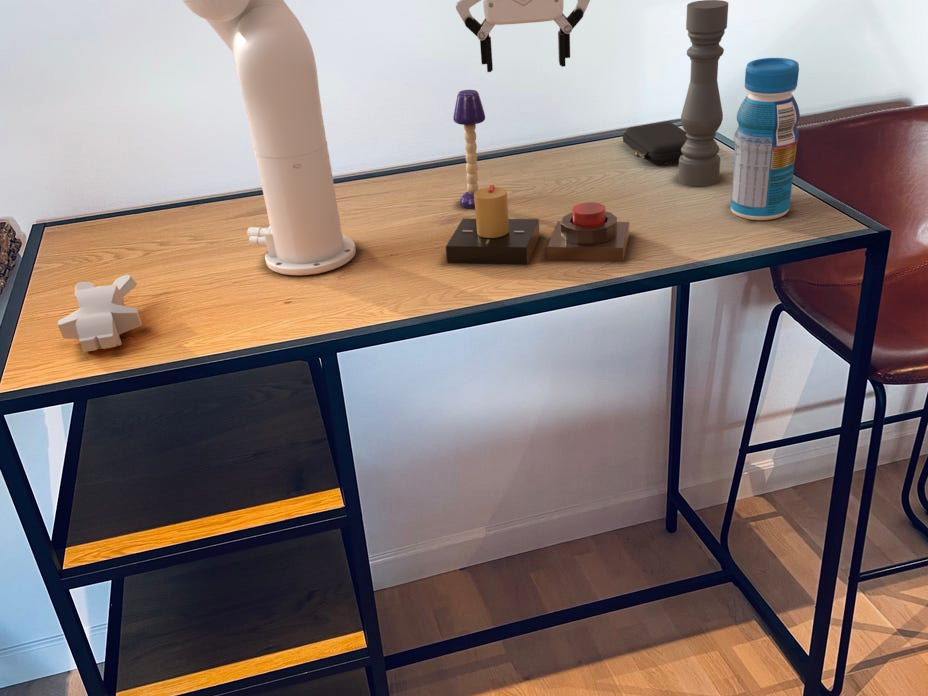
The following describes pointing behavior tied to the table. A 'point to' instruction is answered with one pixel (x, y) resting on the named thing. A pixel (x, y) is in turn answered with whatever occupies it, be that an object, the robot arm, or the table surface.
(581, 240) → the switch box
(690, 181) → the candle holder
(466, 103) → the toy lamp
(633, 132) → the carrying case
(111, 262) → the table surface
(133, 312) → the white blocky figure
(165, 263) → the table surface
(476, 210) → the dimmer knob
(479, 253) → the dimmer
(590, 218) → the power button
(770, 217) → the beverage bottle
